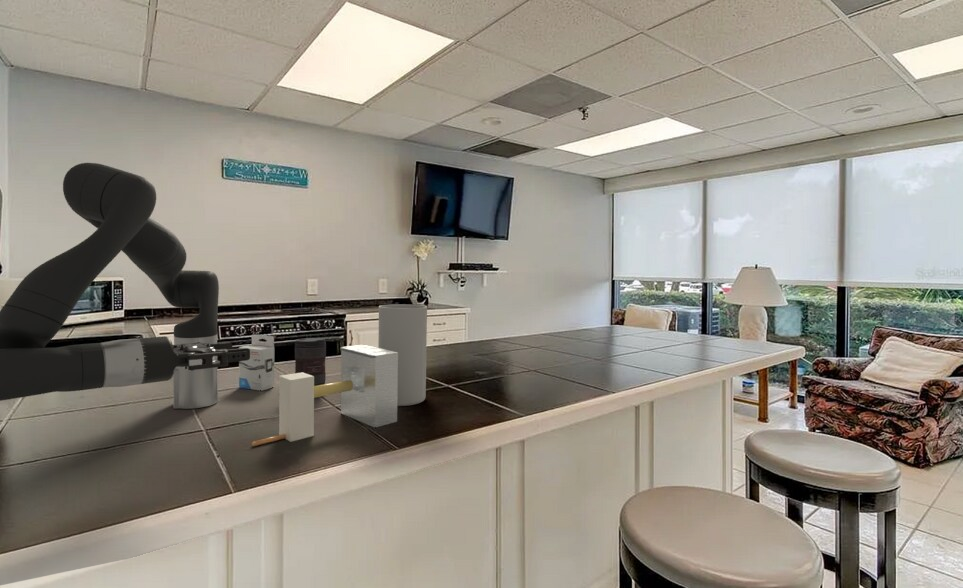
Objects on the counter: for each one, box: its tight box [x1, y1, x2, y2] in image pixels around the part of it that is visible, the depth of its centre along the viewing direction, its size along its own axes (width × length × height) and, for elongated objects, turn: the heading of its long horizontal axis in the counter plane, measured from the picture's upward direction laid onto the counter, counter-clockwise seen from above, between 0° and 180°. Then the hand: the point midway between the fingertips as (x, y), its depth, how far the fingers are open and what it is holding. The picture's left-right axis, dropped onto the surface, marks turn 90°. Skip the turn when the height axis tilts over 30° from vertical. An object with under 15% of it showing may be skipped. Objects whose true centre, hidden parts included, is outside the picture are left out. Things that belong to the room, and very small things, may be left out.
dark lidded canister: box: [294, 337, 327, 386], centre depth 131 cm, size 8×8×15 cm
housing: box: [339, 344, 398, 428], centre depth 111 cm, size 7×14×16 cm, turn 47°
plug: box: [251, 372, 353, 447], centre depth 100 cm, size 21×5×12 cm, turn 137°
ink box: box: [238, 334, 275, 392], centre depth 136 cm, size 9×5×15 cm, turn 71°
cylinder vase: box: [377, 303, 428, 407], centre depth 126 cm, size 12×12×25 cm
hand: (240, 350), depth 90 cm, fingers open, 8 cm apart
